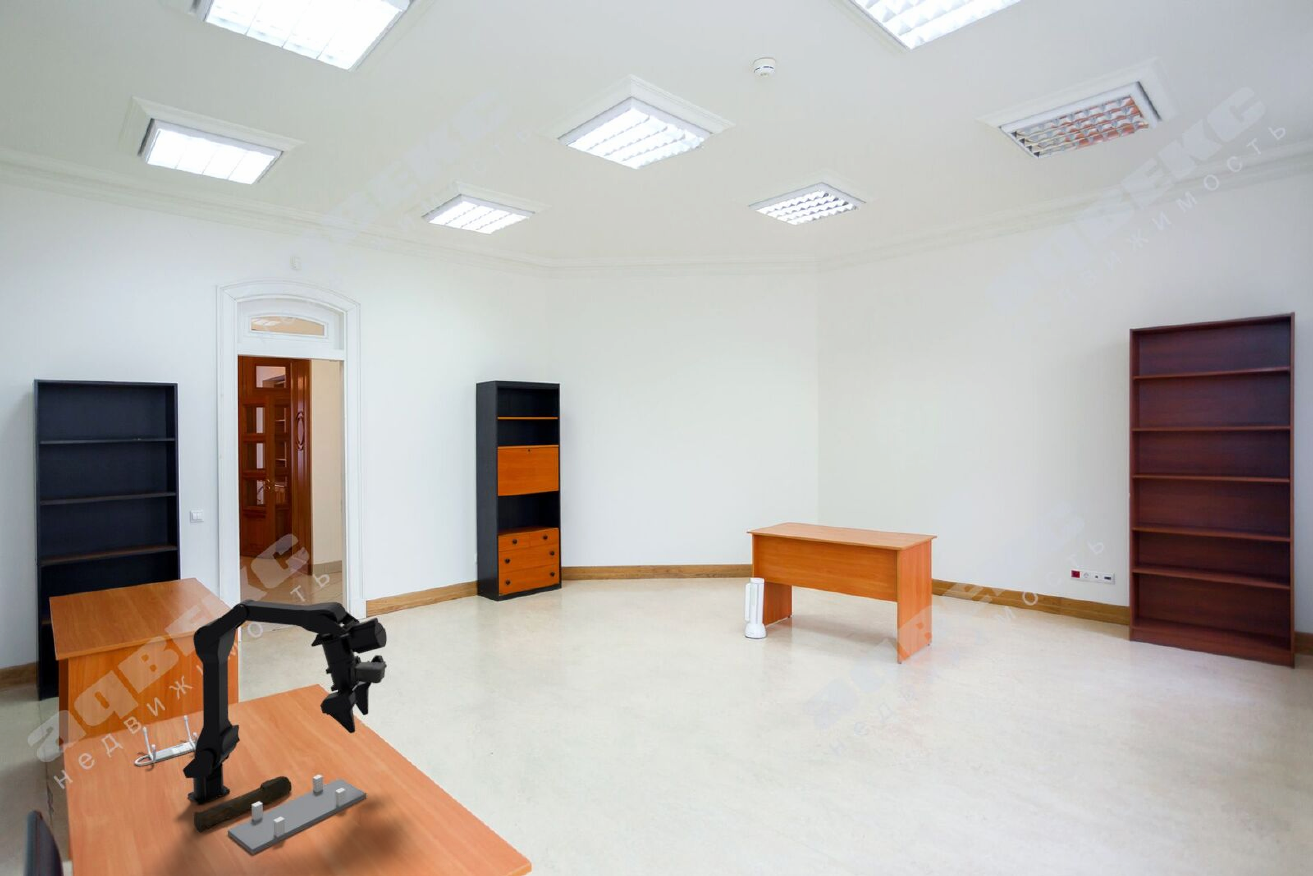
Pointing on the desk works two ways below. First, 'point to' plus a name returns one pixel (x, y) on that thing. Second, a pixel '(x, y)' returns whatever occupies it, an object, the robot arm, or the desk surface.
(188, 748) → the wall mount rack
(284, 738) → the desk surface
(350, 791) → the plate
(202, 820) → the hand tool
